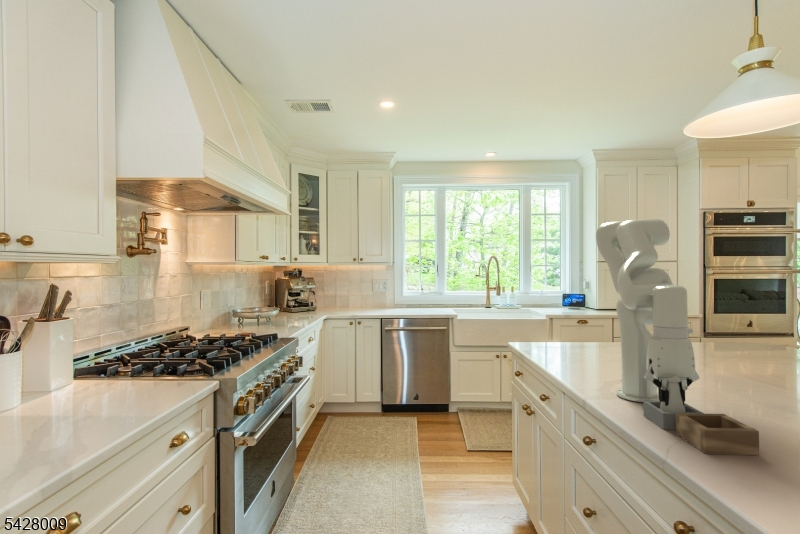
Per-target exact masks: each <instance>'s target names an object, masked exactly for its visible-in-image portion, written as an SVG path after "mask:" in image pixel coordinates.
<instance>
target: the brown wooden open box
mask: <svg viewBox="0 0 800 534" xmlns="http://www.w3.org/2000/svg"><path fill="white" fill-rule="evenodd" d="M675 434H676V435H677V434H678V435H679V436H678V435H677V436H678V437H680V436H681V437H682V438H681V437H680V438H681V439H683V438H684V439H685V440H687V441H688V442H689V444H690V443H691V444H692V446H693V445H694V446H695V447H694V446H693V447H694V448H696V447H697V448H698V449H697V448H696V449H697V450H699V451H700V450H701V451H700V452H702V453H703V454H705V455H731V454H733V456H735V455H737V456H739V455H741V456H742V455H743V456H744V455H746V456H747V455H749V456H760V455H761V454H760V431H759V430H757V429H755V428H754V427H751V426H749V425H747V424H745V423H743V422H741V421H739V420H737V419H735V418H733V417H731V416H729V415H727V414H725V413H704V414H697V413H676V430H675ZM684 439H683V440H684ZM685 440H684V441H685ZM687 441H686V442H687ZM688 442H687V443H688ZM691 444H690V445H691Z"/></svg>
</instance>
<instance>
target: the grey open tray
mask: <svg viewBox="0 0 800 534" xmlns="http://www.w3.org/2000/svg"><path fill="white" fill-rule="evenodd" d="M642 404H643V417H644V416H645V419H647V418H648V419H647V420H649V421H650V420H651V421H650V422H652V423H653V422H654V423H655V426H657V425H658V426H657V427H659V428H660V427H661V428H660V429H662V430H663V429H676V413H697V414H705V413H704V412H702V411H700V410H698V409H697V408H695V407H693V406H691V405H689V404H687V403H685V402H684V407H685V411H686V412H664V411H662V410H661V409H660V405H661V403H660V401H643V402H642ZM654 423H653V424H654Z"/></svg>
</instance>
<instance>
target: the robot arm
mask: <svg viewBox="0 0 800 534" xmlns="http://www.w3.org/2000/svg"><path fill="white" fill-rule="evenodd" d="M670 232H671V231H670V228H669V226H668V224H667V223H666V222H665V220H663V219H660V218H650V219H649V218H648V219H646V218H645V219H630V220H629V219H628V220H619V221H610V222H605V223H602V224H600V225H599V226H598V228H597V230H596V232H595V240H596V246H597V248H598V252H599V254H600V255H601V257H602V258H603V260H604V261H605V263H606V264H607V266H608V269H609V273H610V276H611V277H610V278H611V280H612V284H613V286H614V289H615V291H616V292H617V294H618V296H620V298H619V299H618V301H617V302H616V306H615V307H616V315H617V319H618V324H619V333H620V334H619V337H620V361H621V362H620V363H621V365H620V366H621V381H620V382H621V387H620V388H618V389H617V390H616V396H618V397H620V399H624V400H627V401H631V402H638V403H643V401H660V403H661V402H665V406H668V404H669V391H668V390H667V378H672V377H675V376H677V377H680V378H681V382H679V385H680V393H681V397H682V402H683V405H684V403H685V402H686V391H687V390H688V389H689V387H690V385H692V383H694V382H696V381H699V380H700V375H699V374H698V372H697V370H696V359H695V353H694V352H695V351H694V347H693V344H692V343H693V342H692V340H691V338H689V336H690V335H692V334H694V330H693V328H690V327H689V323H688V318H689V317H688V312H689V311H688V292H687V291H688V290H687V288H686V287H684V286H682V285H675V284H674V283H673V282H672V280H671V277H670V276H669V273H667V271H665V270H664V269H662V268H658V267H653V266H654V265H655V264H656V263H657V262H658V259H659V255H658V251H657V250H656V247H657V246H665V244H667V243H668V242H669V240H670V235H671V234H670ZM655 246H656V247H655ZM651 326H652V328H653V329H652V331H653V333H651V332H650V331H649V330H648V328H647V327H651Z"/></svg>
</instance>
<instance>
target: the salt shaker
mask: <svg viewBox="0 0 800 534" xmlns="http://www.w3.org/2000/svg"><path fill="white" fill-rule="evenodd" d="M679 382H681V378H680V377H677V376H675V377H672V378H667V390H668V391H669V404H668V406H665V402H661V405H660V409H661V410H662V411H664V412H686V411H685V407H684V405H683V402H682V397H681V393H680V385H679Z"/></svg>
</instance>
